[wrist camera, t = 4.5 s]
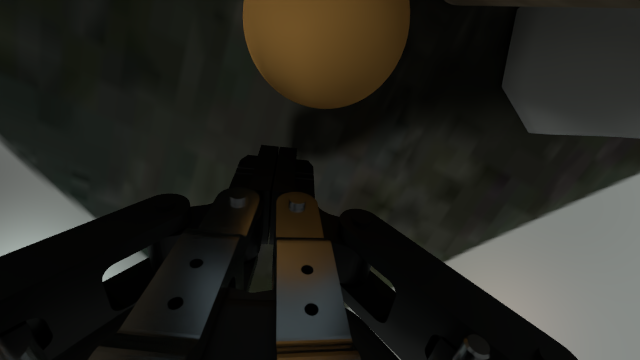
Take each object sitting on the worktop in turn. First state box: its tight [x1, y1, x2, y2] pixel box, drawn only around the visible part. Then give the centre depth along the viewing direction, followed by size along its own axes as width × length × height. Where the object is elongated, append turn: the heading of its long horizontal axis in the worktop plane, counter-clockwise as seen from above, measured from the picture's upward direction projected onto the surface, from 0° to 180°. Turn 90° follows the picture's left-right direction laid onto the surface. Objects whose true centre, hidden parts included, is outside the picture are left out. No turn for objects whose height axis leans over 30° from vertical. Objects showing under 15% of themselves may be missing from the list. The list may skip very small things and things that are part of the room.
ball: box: [243, 0, 410, 109], centre depth 9 cm, size 5×5×5 cm
